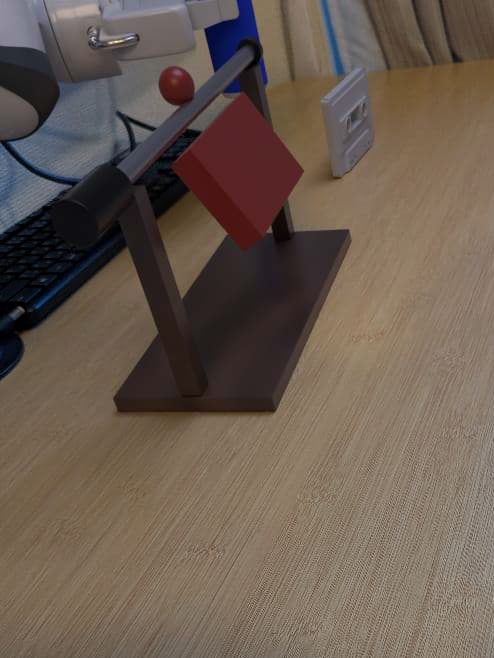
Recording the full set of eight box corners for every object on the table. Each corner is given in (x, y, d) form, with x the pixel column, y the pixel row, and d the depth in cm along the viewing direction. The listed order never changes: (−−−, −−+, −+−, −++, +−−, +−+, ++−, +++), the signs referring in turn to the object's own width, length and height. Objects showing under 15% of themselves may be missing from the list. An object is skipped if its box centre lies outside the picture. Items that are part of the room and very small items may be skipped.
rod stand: (117, 412, 60) (28, 202, 49) (229, 246, 78) (182, 69, 68) (275, 411, 57) (217, 192, 47) (351, 241, 76) (322, 57, 66)
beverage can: (249, 82, 87) (211, -94, 77) (279, 87, 84) (244, -95, 74) (210, 96, 85) (165, -84, 75) (239, 102, 82) (197, -84, 72)
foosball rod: (176, 354, 48) (17, 193, 43) (308, 150, 72) (216, 28, 66) (205, 333, 47) (45, 164, 41) (330, 132, 70) (238, 6, 65)
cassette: (364, 138, 96) (354, 65, 91) (379, 138, 96) (369, 65, 91) (328, 178, 88) (315, 101, 83) (344, 178, 88) (332, 100, 82)
